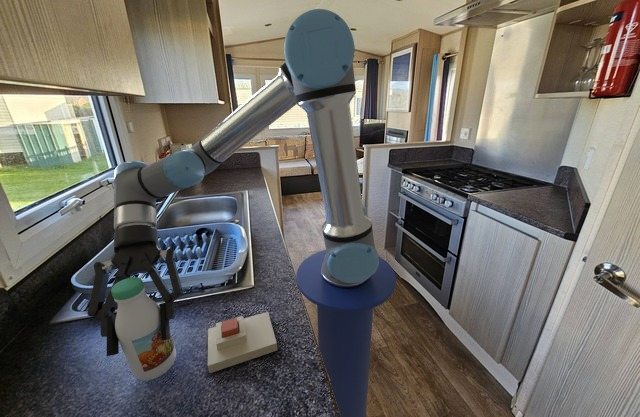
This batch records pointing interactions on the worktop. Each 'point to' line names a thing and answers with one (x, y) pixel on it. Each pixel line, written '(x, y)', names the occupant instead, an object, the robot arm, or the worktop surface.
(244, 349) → the light switch
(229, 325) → the red switch button
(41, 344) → the worktop surface
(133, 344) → the milk bottle
